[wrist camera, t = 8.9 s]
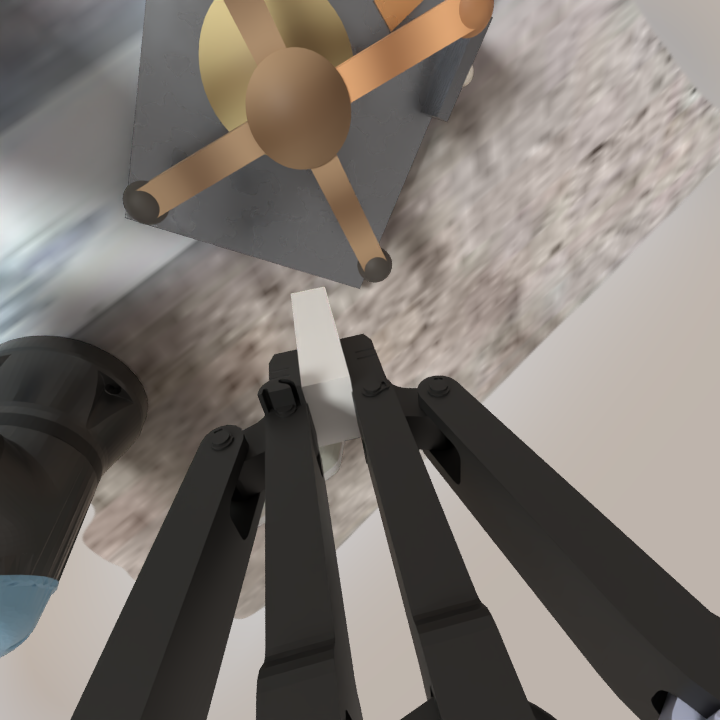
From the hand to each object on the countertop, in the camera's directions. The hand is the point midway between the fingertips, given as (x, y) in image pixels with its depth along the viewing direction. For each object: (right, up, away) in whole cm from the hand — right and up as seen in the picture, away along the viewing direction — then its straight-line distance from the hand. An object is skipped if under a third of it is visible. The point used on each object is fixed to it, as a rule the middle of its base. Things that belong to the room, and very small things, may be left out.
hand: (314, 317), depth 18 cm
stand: (-3, +17, +12) cm, 22 cm away
